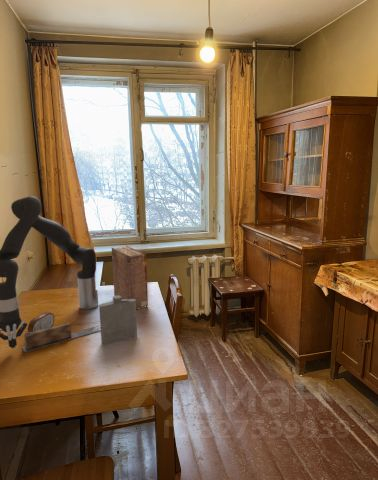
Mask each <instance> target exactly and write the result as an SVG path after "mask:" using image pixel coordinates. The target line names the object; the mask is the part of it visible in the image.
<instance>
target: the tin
mask: <svg viewBox="0 0 378 480" xmlns="http://www.w3.org/2000/svg"><path fill="white" fill-rule="evenodd" d="M54 314H55V313H52V312H50V311H45V312H42V313H40V314H38V315H37V316H35V317H33V318H32V319H31V320H30V321H29V323H28V324H27V332H34V331H38V330H42V329H46V328H50V327H54V324H55V315H54Z"/></svg>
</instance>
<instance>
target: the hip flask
mask: <svg viewBox="0 0 378 480" xmlns="http://www.w3.org/2000/svg"><path fill="white" fill-rule="evenodd" d="M98 310H99V322H100V323H99V325H100V327H101V331H100V340H101V344H102V345H108V344H111V343H114V342H119V340H120V341H125V340H130V339H129V338H132V339H136V338H138V325H137V324H138V323H137V320H138V319H137V310H136V300H135V299H122V300H121V296H119V295H117V296H114V295H113V296H112V301H108V302H104V303H100V304H98ZM135 337H136V338H135ZM124 339H125V340H124Z"/></svg>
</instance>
